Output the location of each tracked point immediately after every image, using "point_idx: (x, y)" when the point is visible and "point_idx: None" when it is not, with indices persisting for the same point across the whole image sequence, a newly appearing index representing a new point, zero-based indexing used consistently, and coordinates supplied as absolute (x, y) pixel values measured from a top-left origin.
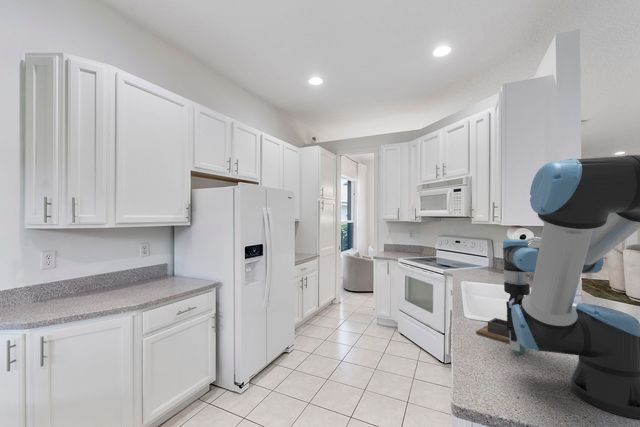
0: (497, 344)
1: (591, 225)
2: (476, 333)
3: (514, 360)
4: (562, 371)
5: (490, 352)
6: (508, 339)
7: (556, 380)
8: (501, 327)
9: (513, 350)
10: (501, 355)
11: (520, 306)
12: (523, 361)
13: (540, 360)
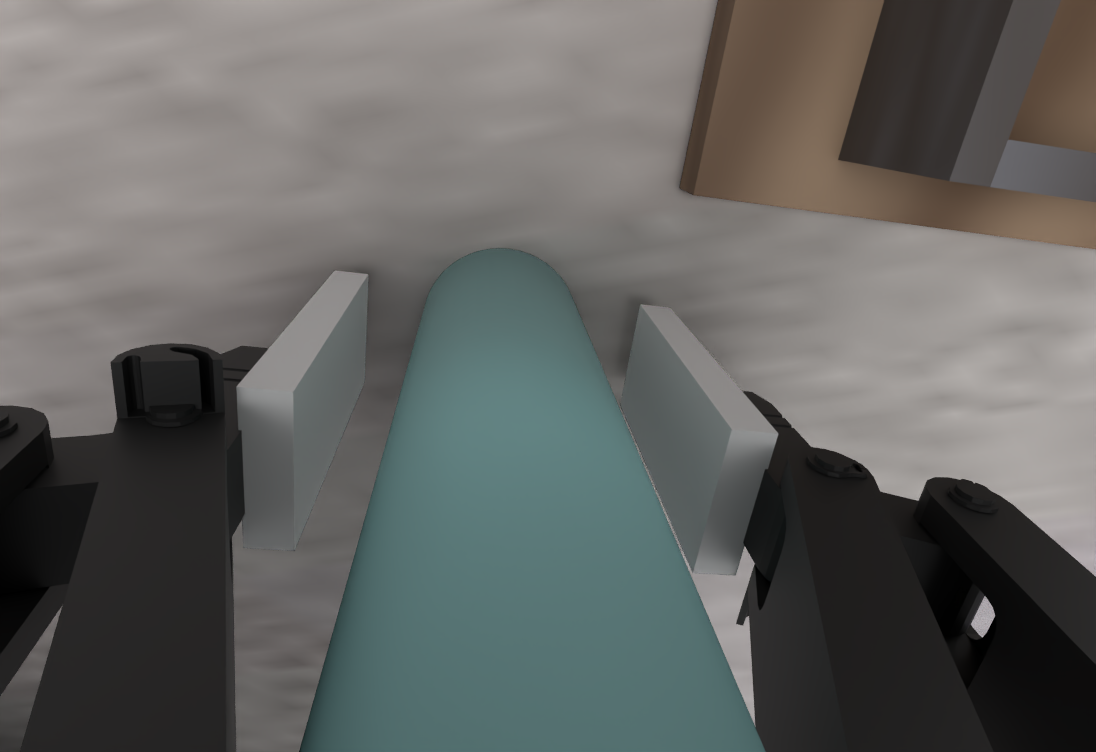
0: (543, 36)
1: None
2: None
3: (144, 340)
4: (296, 683)
5: (112, 19)
6: (747, 167)
7: (40, 679)
8: (970, 22)
9: (439, 280)
10: (153, 180)
11: None
12: None
13: None
